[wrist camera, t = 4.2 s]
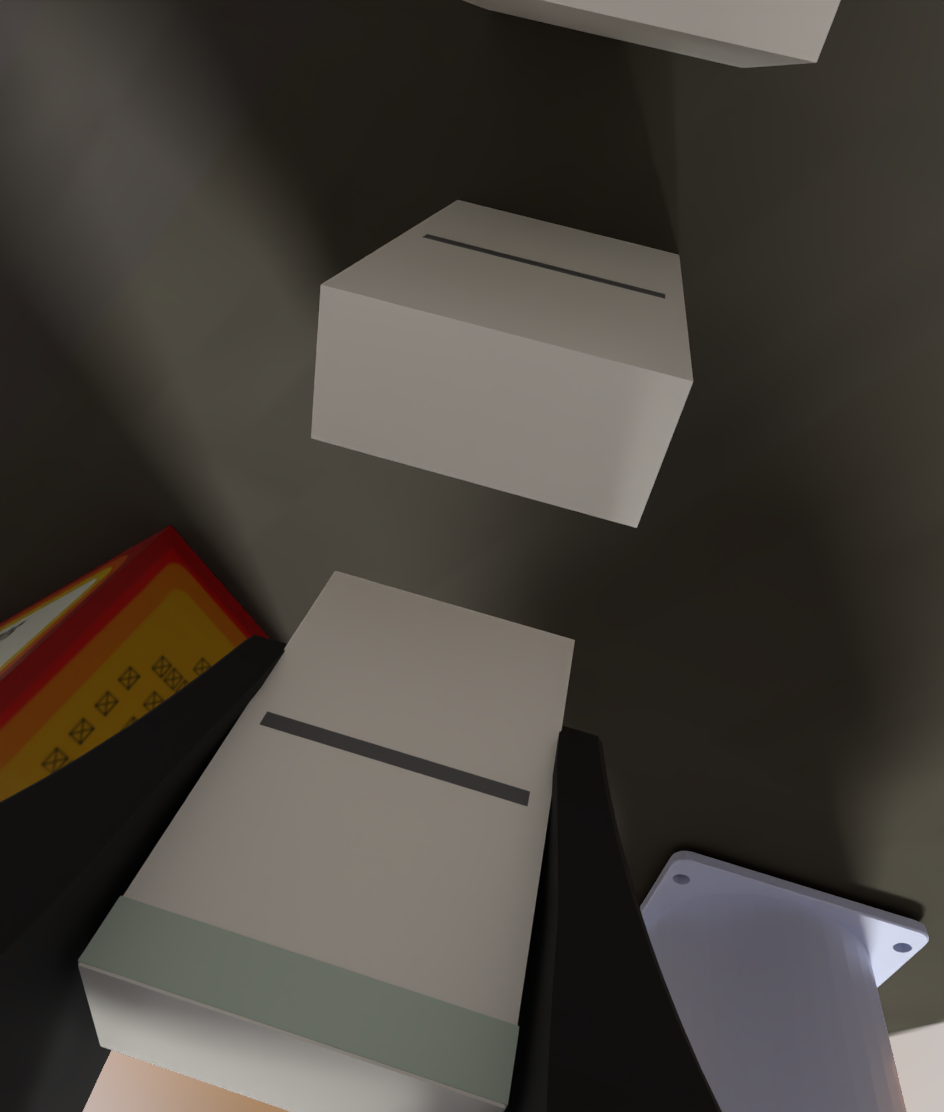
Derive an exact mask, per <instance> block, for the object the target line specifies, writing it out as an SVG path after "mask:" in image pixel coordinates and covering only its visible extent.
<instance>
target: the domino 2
mask: <svg viewBox="0 0 944 1112" xmlns="http://www.w3.org/2000/svg"><path fill="white" fill-rule="evenodd" d="M692 384H693V374H692V365H691V356H690V347H689V338H688V329H687V320H686V311H685V302H684V293H683V284H682V275H681V266H680V257H679V255H678V254H674V253H670V252H666V251H662V250H658V249H654V248H650V247H646V246H642V245H638V244H634V243H630V242H626V241H622V240H618V239H614V238H610V237H606V236H602V235H598V234H594V233H590V232H586V231H582V230H578V229H574V228H570V227H566V226H562V225H558V224H554V223H550V222H545V221H541V220H537V219H533V218H529V217H525V216H521V215H517V214H513V213H509V212H505V211H501V210H497V209H493V208H489V207H485V206H481V205H477V204H473V203H469V202H465V201H461V200H456V201H455V202H453V203H452V204H450V205H448V206H447V207H445V208H444V209H442V210H440V211H439V212H437V213H435V214H434V215H432V216H431V217H429V218H427V219H426V220H424V221H423V222H421V223H419V224H418V225H416V226H414V227H413V228H411V229H410V230H408V231H406V232H405V233H403V234H402V235H400V236H398V237H397V238H395V239H393V240H392V241H390V242H389V243H387V244H385V245H384V246H382V247H381V248H379V249H377V250H376V251H374V252H372V253H371V254H369V255H368V256H366V257H364V258H363V259H361V260H360V261H358V262H356V263H355V264H353V265H351V266H350V267H348V268H347V269H345V270H343V271H342V272H340V273H339V274H337V275H335V276H334V277H332V278H331V279H329V280H327V281H326V282H324V283H322V284H321V288H320V304H319V320H318V336H317V351H316V367H315V383H314V399H313V415H312V431H311V438H312V439H316V440H319V441H323V442H327V443H330V444H334V445H337V446H341V447H345V448H348V449H352V450H356V451H359V452H363V453H366V454H370V455H374V456H377V457H381V458H385V459H388V460H392V461H395V462H399V463H403V464H406V465H410V466H414V467H417V468H421V469H424V470H428V471H432V472H435V473H439V474H443V475H446V476H450V477H454V478H457V479H461V480H464V481H468V482H472V483H475V484H479V485H483V486H486V487H490V488H493V489H497V490H501V491H504V492H508V493H512V494H515V495H519V496H522V497H526V498H530V499H533V500H537V501H541V502H544V503H548V504H551V505H555V506H559V507H562V508H566V509H570V510H573V511H577V512H580V513H584V514H588V515H591V516H595V517H599V518H602V519H606V520H610V521H613V522H617V523H620V524H624V525H628V526H631V527H635V528H637V526H638V524H639V521H640V519H641V516H642V513H643V511H644V508H645V506H646V503H647V500H648V498H649V495H650V493H651V490H652V487H653V485H654V482H655V480H656V477H657V474H658V472H659V469H660V467H661V464H662V461H663V459H664V456H665V454H666V451H667V449H668V446H669V443H670V441H671V438H672V436H673V433H674V430H675V428H676V425H677V423H678V420H679V417H680V415H681V412H682V410H683V407H684V404H685V402H686V399H687V397H688V394H689V392H690V389H691V386H692Z"/></svg>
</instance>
